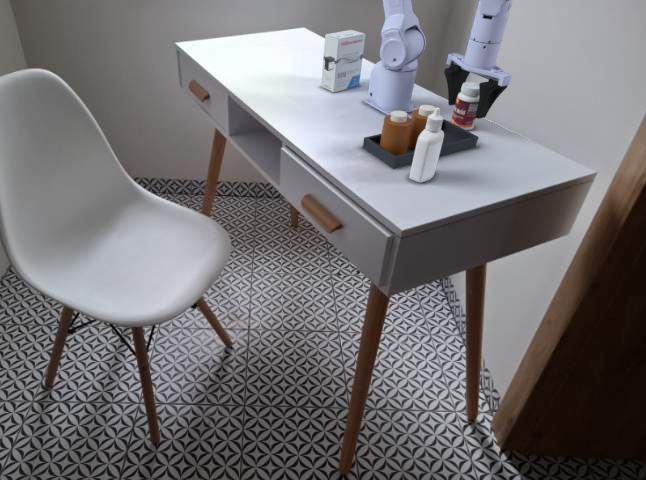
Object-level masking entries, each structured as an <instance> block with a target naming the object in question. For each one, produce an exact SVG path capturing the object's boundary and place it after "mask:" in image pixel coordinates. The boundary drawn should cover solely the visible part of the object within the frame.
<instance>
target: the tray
mask: <svg viewBox="0 0 646 480" xmlns="http://www.w3.org/2000/svg"><path fill="white" fill-rule="evenodd" d="M441 130H442V131H443V132H444V138H443V143H442V147H441V151H440V155H439V157H442V156H447V155H451V154H454V153H458V152H462V151H466V150H470V149H473V148H476V146H477V143H478V141H479V136H478V135H476V134H474V133H472V132H470V131H469V130H464V129H463V128H461V127H459V126H457V125H455V124H453V123H451V121H449V120H448V119H444V118H443V122H442V126H441ZM381 134H382V133H378V134H373V135H370V136H365V137H363V142H362V149H363V150H365V151H366V152H367V153H369V154H371V155H372V156H374V157H375V158H377V159H378V160H380V161H381V162H383V163H384V164H386V165H387V166H389V167H390V168H392V169H397V168H401V167H405V166H409V165H412V162H413V157H414V153H415V149H412V148H410V147H407V151H406V154H402V155H398V156H395V155H394V154H392V153H391V152H389V151H387V150H386V149H384V148H383V147H381V146H380V140H381Z"/></svg>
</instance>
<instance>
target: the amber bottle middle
mask: <svg viewBox="0 0 646 480" xmlns="http://www.w3.org/2000/svg"><path fill="white" fill-rule="evenodd" d="M435 108H436V107H435V106H434V105H430V104H421V105H420V106H419V108H418V109H416V110H414V111H413V112H411V116H410V119H411V120H412V121H413V123H412V127H411V132H410V137H409V142H408V147H410V148H412V149H415V148H416V144H417V140H418V137H419V135H420V134H421V132H422V131H423V130H424V129H426V123H427V119H428V116H429V115H431V114H433V113H434V111H435Z"/></svg>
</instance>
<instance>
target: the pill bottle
mask: <svg viewBox="0 0 646 480" xmlns="http://www.w3.org/2000/svg"><path fill="white" fill-rule="evenodd" d="M479 84H480V83H479V82H475V81H466V82H465V83H463V84H462V88H461V92H460V93H459V94H458V96H457V100H456V104H455V105H454V107H453V111H452V115H451V119H450V122H451V123H453V124H455V125H457V126H459V127H461V128H463V129H464V130H466V131H470V130H473V129H474V127H475V124H476V121H477V118H476V111H477V107H478V103H479V95H480V88H479Z"/></svg>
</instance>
